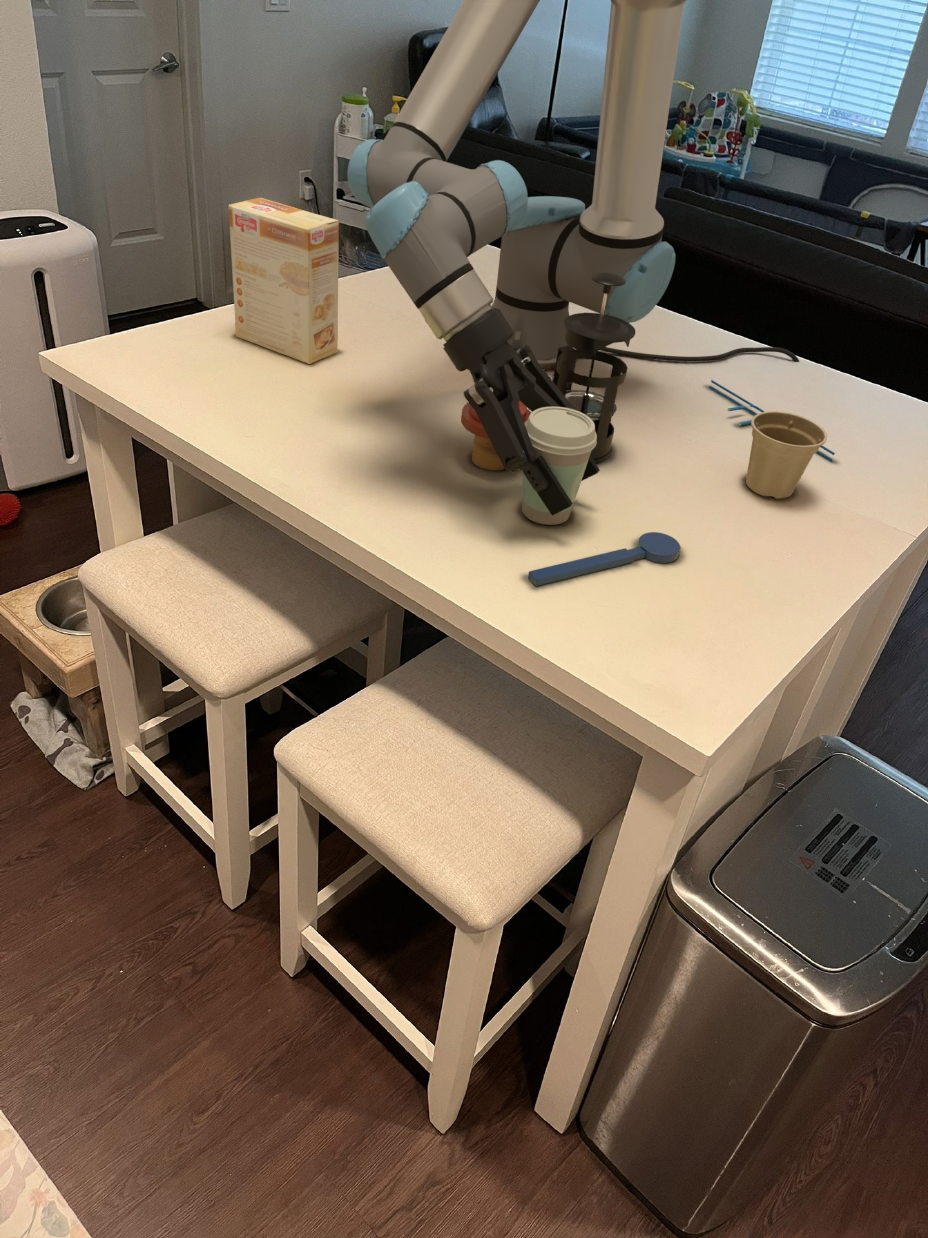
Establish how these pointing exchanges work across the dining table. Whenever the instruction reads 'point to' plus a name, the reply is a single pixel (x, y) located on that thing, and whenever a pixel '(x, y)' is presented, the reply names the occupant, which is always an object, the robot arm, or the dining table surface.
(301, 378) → the dining table surface
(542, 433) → the coffee cup
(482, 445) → the mushroom
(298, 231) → the coffeecake box
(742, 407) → the chopsticks
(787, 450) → the flower pot
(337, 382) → the dining table surface
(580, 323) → the french press
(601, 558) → the spoon
